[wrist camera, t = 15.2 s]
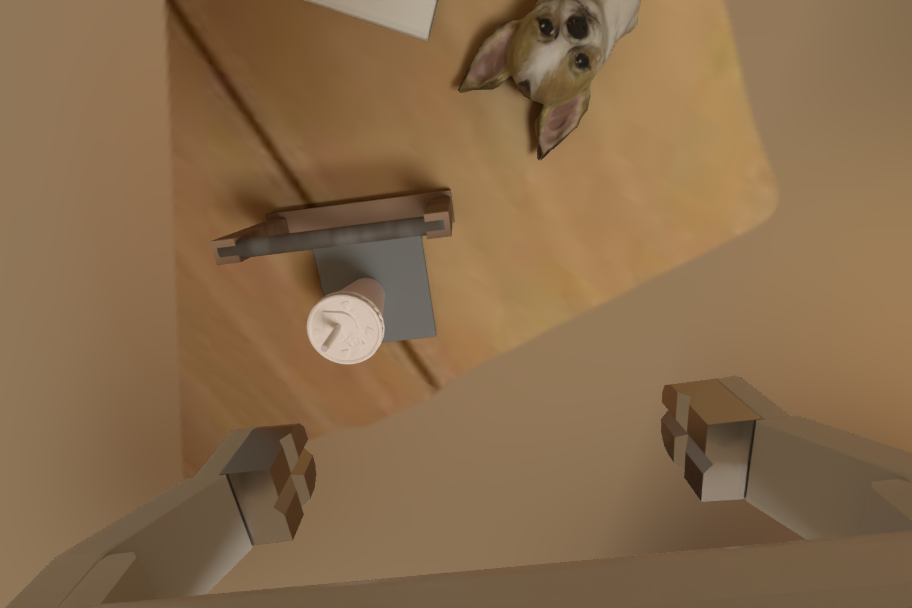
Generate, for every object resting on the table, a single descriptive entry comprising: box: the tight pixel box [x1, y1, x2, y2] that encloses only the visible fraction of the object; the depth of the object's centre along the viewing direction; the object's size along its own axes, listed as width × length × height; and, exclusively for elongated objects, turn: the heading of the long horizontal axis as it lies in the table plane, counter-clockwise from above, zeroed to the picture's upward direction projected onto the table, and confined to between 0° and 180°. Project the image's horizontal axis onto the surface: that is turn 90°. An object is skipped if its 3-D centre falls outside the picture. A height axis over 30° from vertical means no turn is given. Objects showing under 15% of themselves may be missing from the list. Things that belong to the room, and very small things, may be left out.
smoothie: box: [307, 278, 385, 364], centre depth 38 cm, size 6×6×14 cm
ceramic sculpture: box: [458, 0, 641, 161], centre depth 34 cm, size 11×9×15 cm
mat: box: [313, 236, 436, 343], centre depth 45 cm, size 11×11×1 cm
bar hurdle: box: [210, 190, 455, 265], centre depth 37 cm, size 3×18×12 cm, turn 97°
